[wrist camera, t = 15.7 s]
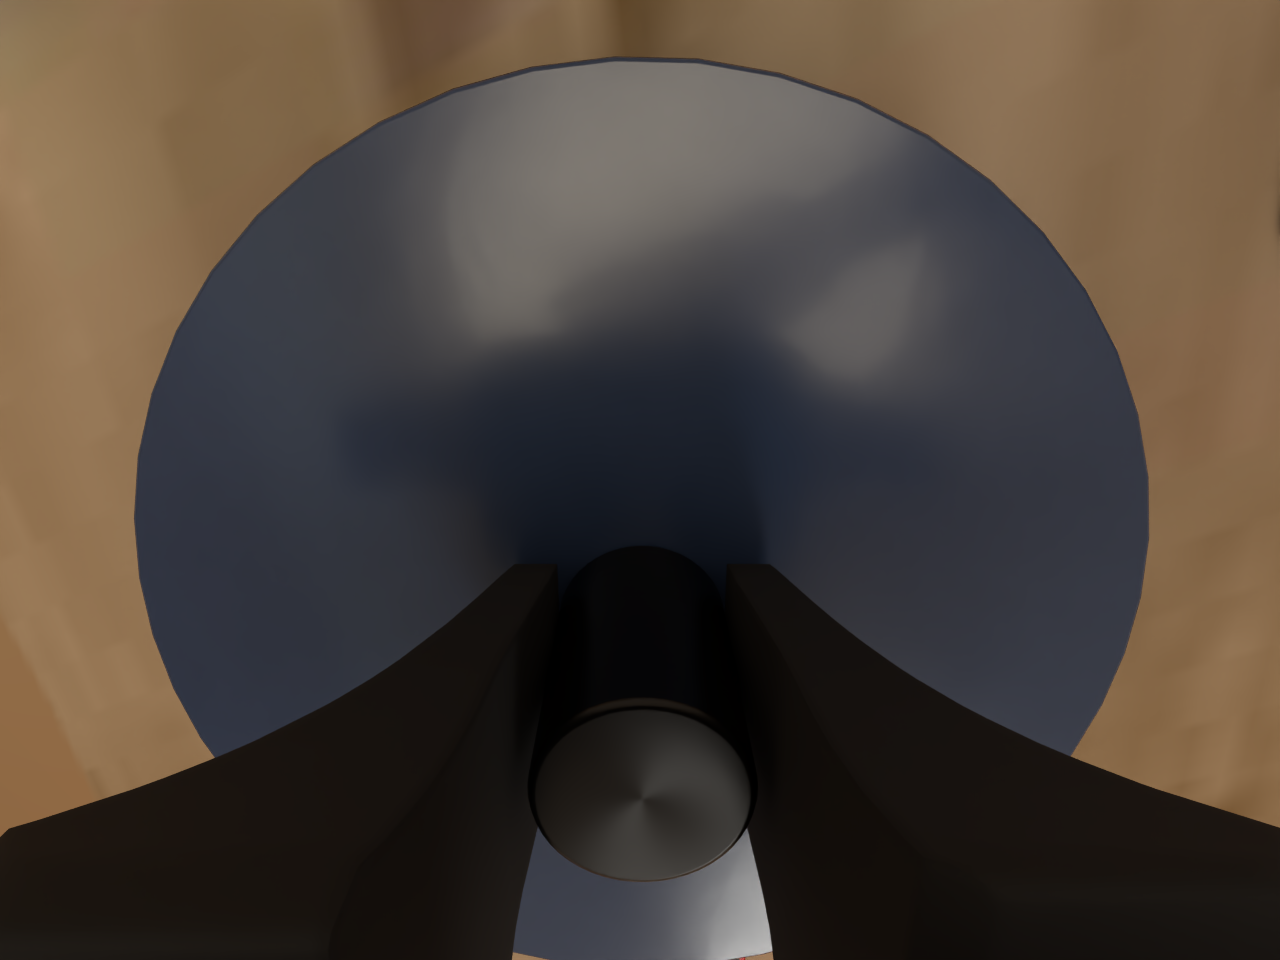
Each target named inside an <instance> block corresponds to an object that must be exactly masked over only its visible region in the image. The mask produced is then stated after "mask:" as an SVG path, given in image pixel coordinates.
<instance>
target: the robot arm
mask: <svg viewBox="0 0 1280 960" xmlns="http://www.w3.org/2000/svg"><path fill="white" fill-rule="evenodd" d="M558 618H559V594H558V570H557V564H514V565H513V566H512V567H510V568H509V569H508V570H507V571H506V572H505V573H503V574H502V575H501V576H500V577H499V578H498V579H497V580H496V581H495V582H493V583H492V584H491V585H490V586H489V587H488V588H487V589H486V590H485V591H484V592H482V593H481V594H480V595H479V596H478V597H477V598H476V599H475V600H473V601H472V602H471V603H470V604H469V605H468V606H466V607H465V608H464V609H463V610H462V611H461V612H459V613H458V614H457V615H456V616H455V617H454V618H453V619H451V620H450V621H449V622H448V623H447V624H445V625H444V626H443V627H441V628H440V629H439V630H437V631H436V632H435V633H434V634H432V635H431V636H430V637H428V638H427V639H426V640H424V641H423V642H422V643H420V644H419V645H418V646H416V647H415V648H414V649H412V650H411V651H410V652H408V653H407V654H406V655H405V656H403V657H402V658H401V659H399V660H398V661H396V662H395V663H393V664H392V665H391V666H389V667H388V668H386V669H385V670H383V671H382V672H380V673H378V674H377V675H375V676H374V677H372V678H371V679H369V680H368V681H366V682H364V683H363V684H361V685H359V686H358V687H356V688H354V689H353V690H351V691H349V692H348V693H346V694H344V695H343V696H341V697H339V698H338V699H336V700H334V701H332V702H330V703H329V704H327V705H325V706H323V707H321V708H319V709H317V710H315V711H313V712H311V713H309V714H307V715H305V716H303V717H301V718H299V719H297V720H295V721H293V722H291V723H289V724H287V725H285V726H283V727H281V728H279V729H277V730H275V731H273V732H271V733H269V734H267V735H265V736H263V737H261V738H259V739H257V740H255V741H253V742H251V743H249V744H246V745H244V746H242V747H239V748H237V749H235V750H232V751H230V752H228V753H225V754H223V755H221V756H218V757H216V758H214V759H211V760H209V761H206V762H204V763H201V764H199V765H196V766H194V767H191V768H189V769H186V770H183V771H181V772H178V773H176V774H173V775H171V776H168V777H166V778H163V779H160V780H157V781H155V782H152V783H149V784H146V785H144V786H141V787H138V788H135V789H133V790H129V791H126V792H123V793H120V794H117V795H114V796H111V797H108V798H105V799H102V800H99V801H96V802H93V803H89V804H87V805H83V806H80V807H77V808H74V809H71V810H68V811H65V812H62V813H59V814H56V815H52V816H49V817H46V818H43V819H40V820H37V821H33V822H30V823H27V824H23V825H20V826H16V827H13V828H10V829H8V830H7V831H6V832H5V833H4V834H3V835H2V836H1V837H0V960H512V954H513V946H514V939H515V931H516V925H517V919H518V914H519V909H520V903H521V898H522V893H523V888H524V884H525V880H526V875H527V871H528V867H529V863H530V858H531V854H532V850H533V845H534V841H535V837H536V833H537V828H538V826H537V824H536V822H535V819H534V817H533V814H532V811H531V809H530V804H529V800H528V788H527V783H528V775H529V769H530V764H531V759H532V753H533V748H534V743H535V738H536V732H537V727H538V722H539V717H540V712H541V706H542V701H543V696H544V691H545V685H546V680H547V675H548V670H549V665H550V659H551V654H552V649H553V644H554V638H555V633H556V628H557V623H558ZM725 618H726V623H727V628H728V633H729V638H730V643H731V648H732V653H733V658H734V663H735V668H736V673H737V678H738V683H739V688H740V693H741V698H742V703H743V708H744V713H745V718H746V723H747V727H748V732H749V737H750V742H751V747H752V752H753V757H754V762H755V767H756V772H757V779H758V795H757V802H756V806H755V809H754V813H753V815H752V818H751V820H750V822H749V825H748V827H747V830H748V834H749V838H750V842H751V847H752V851H753V855H754V859H755V863H756V868H757V872H758V876H759V880H760V884H761V888H762V893H763V898H764V903H765V908H766V914H767V919H768V924H769V930H770V937H771V944H772V951H773V959H774V960H1280V828H1279V827H1275V826H1272V825H1269V824H1266V823H1263V822H1260V821H1256V820H1253V819H1250V818H1247V817H1244V816H1240V815H1237V814H1234V813H1231V812H1228V811H1224V810H1221V809H1218V808H1215V807H1212V806H1208V805H1205V804H1202V803H1199V802H1196V801H1193V800H1189V799H1186V798H1183V797H1180V796H1177V795H1173V794H1170V793H1167V792H1164V791H1161V790H1157V789H1155V788H1152V787H1149V786H1146V785H1143V784H1140V783H1138V782H1135V781H1132V780H1130V779H1127V778H1125V777H1122V776H1119V775H1117V774H1114V773H1112V772H1109V771H1106V770H1104V769H1101V768H1098V767H1096V766H1093V765H1091V764H1088V763H1085V762H1083V761H1080V760H1078V759H1075V758H1073V757H1071V756H1068V755H1066V754H1063V753H1061V752H1059V751H1056V750H1054V749H1052V748H1049V747H1047V746H1045V745H1042V744H1040V743H1038V742H1036V741H1033V740H1031V739H1029V738H1027V737H1025V736H1023V735H1021V734H1019V733H1017V732H1015V731H1012V730H1010V729H1008V728H1006V727H1004V726H1002V725H1000V724H998V723H996V722H994V721H992V720H989V719H987V718H985V717H983V716H981V715H980V714H978V713H976V712H974V711H972V710H970V709H968V708H966V707H964V706H962V705H961V704H959V703H957V702H955V701H954V700H952V699H950V698H948V697H947V696H945V695H943V694H942V693H940V692H938V691H937V690H935V689H933V688H931V687H930V686H928V685H926V684H925V683H923V682H921V681H920V680H918V679H916V678H915V677H913V676H911V675H910V674H908V673H907V672H905V671H904V670H902V669H901V668H899V667H898V666H896V665H895V664H893V663H892V662H890V661H889V660H888V659H886V658H885V657H883V656H882V655H881V654H879V653H878V652H876V651H875V650H874V649H872V648H871V647H869V646H868V645H866V644H865V643H864V642H862V641H861V640H860V639H858V638H857V637H856V636H855V635H853V634H852V633H851V632H849V631H848V630H847V629H846V628H844V627H843V626H842V625H841V624H839V623H838V622H837V621H836V620H834V619H833V618H832V617H831V616H830V615H828V614H827V613H826V612H825V611H824V610H822V609H821V608H820V607H819V606H818V605H817V604H815V603H814V602H813V601H812V600H811V599H810V598H808V597H807V596H806V595H805V594H804V593H803V592H802V591H801V590H799V589H798V588H797V587H796V586H795V585H794V584H793V583H792V582H790V581H789V580H788V579H787V578H786V577H785V576H784V575H783V574H781V573H780V572H779V571H778V570H777V569H776V568H774V567H773V566H772V565H771V564H727V571H726V594H725Z"/></svg>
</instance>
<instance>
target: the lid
mask: <svg viewBox="0 0 1280 960" xmlns="http://www.w3.org/2000/svg"><path fill="white" fill-rule="evenodd" d="M134 523H135V535H136V546H137V557H138V569H139V579H140V583H141V587H142V592H143V596H144V600H145V604H146V609H147V613H148V617H149V621H150V626H151V630H152V634H153V637H154V640H155V642H156V645H157V647H158V650H159V652H160V655H161V658H162V660H163V663H164V665H165V668H166V671H167V673H168V676H169V678H170V681H171V683H172V686H173V689H174V690H175V692H176V694H177V696H178V698H179V699H180V701H181V703H182V705H183V707H184V709H185V710H186V712H187V714H188V716H189V718H190V720H191V721H192V723H193V725H194V727H195V729H196V730H197V732H198V734H199V736H200V738H201V739H202V741H203V742H204V743H205V745H206V746H207V747H208V749H209V750H210V752H211V753H212V754H213V756H214V757H215V758H216V757H218V756H221V755H223V754H225V753H228V752H230V751H232V750H235V749H237V748H239V747H242V746H244V745H246V744H249V743H251V742H253V741H255V740H257V739H259V738H261V737H263V736H265V735H267V734H269V733H271V732H273V731H275V730H277V729H279V728H281V727H283V726H285V725H287V724H289V723H291V722H293V721H295V720H297V719H299V718H301V717H303V716H305V715H307V714H309V713H311V712H313V711H315V710H317V709H319V708H321V707H323V706H325V705H327V704H329V703H330V702H332V701H334V700H336V699H338V698H339V697H341V696H343V695H344V694H346V693H348V692H349V691H351V690H353V689H354V688H356V687H358V686H359V685H361V684H363V683H364V682H366V681H368V680H369V679H371V678H372V677H374V676H375V675H377V674H378V673H380V672H382V671H383V670H385V669H386V668H388V667H389V666H391V665H392V664H393V663H395V662H396V661H398V660H399V659H401V658H402V657H403V656H405V655H406V654H407V653H408V652H410V651H411V650H412V649H414V648H415V647H416V646H418V645H419V644H420V643H422V642H423V641H424V640H426V639H427V638H428V637H430V636H431V635H432V634H434V633H435V632H436V631H437V630H439V629H440V628H441V627H443V626H444V625H445V624H447V623H448V622H449V621H450V620H451V619H453V618H454V617H455V616H456V615H457V614H458V613H459V612H461V611H462V610H463V609H464V608H465V607H466V606H468V605H469V604H470V603H471V602H472V601H473V600H475V599H476V598H477V597H478V596H479V595H480V594H481V593H482V592H484V591H485V590H486V589H487V588H488V587H489V586H490V585H491V584H492V583H493V582H495V581H496V580H497V579H498V578H499V577H500V576H501V575H502V574H503V573H505V572H506V571H507V570H508V569H509V568H510V567H512V566H513V565H514V564H557V570H558V594H559V618H558V623H557V628H556V633H555V638H554V644H553V649H552V654H551V659H550V665H549V670H548V675H547V680H546V685H545V691H544V696H543V701H542V706H541V712H540V717H539V722H538V727H537V732H536V738H535V743H534V748H533V753H532V759H531V764H530V769H529V775H528V783H527V788H528V800H529V804H530V809H531V811H532V814H533V817H534V819H535V822H536V824H537V826H538V828H537V833H536V837H535V841H534V845H533V850H532V854H531V858H530V863H529V867H528V871H527V875H526V880H525V884H524V888H523V893H522V898H521V903H520V909H519V914H518V919H517V925H516V931H515V939H514V946H513V952H514V953H519V954H524V955H529V956H534V957H539V958H543V959H548V960H733V959H738V958H744V957H750V956H756V955H761V954H766V953H770V952H773V951H772V944H771V937H770V930H769V924H768V919H767V914H766V908H765V903H764V898H763V893H762V888H761V884H760V880H759V876H758V872H757V868H756V863H755V859H754V855H753V851H752V847H751V842H750V838H749V834H748V830H747V827H748V825H749V822H750V820H751V818H752V815H753V813H754V809H755V806H756V802H757V795H758V779H757V772H756V767H755V762H754V757H753V752H752V747H751V742H750V737H749V732H748V727H747V723H746V718H745V713H744V708H743V703H742V698H741V693H740V688H739V683H738V678H737V673H736V668H735V663H734V658H733V653H732V648H731V643H730V638H729V633H728V628H727V623H726V618H725V594H726V571H727V564H771V565H772V566H773V567H774V568H776V569H777V570H778V571H779V572H780V573H781V574H783V575H784V576H785V577H786V578H787V579H788V580H789V581H790V582H792V583H793V584H794V585H795V586H796V587H797V588H798V589H799V590H801V591H802V592H803V593H804V594H805V595H806V596H807V597H808V598H810V599H811V600H812V601H813V602H814V603H815V604H817V605H818V606H819V607H820V608H821V609H822V610H824V611H825V612H826V613H827V614H828V615H830V616H831V617H832V618H833V619H834V620H836V621H837V622H838V623H839V624H841V625H842V626H843V627H844V628H846V629H847V630H848V631H849V632H851V633H852V634H853V635H855V636H856V637H857V638H858V639H860V640H861V641H862V642H864V643H865V644H866V645H868V646H869V647H871V648H872V649H874V650H875V651H876V652H878V653H879V654H881V655H882V656H883V657H885V658H886V659H888V660H889V661H890V662H892V663H893V664H895V665H896V666H898V667H899V668H901V669H902V670H904V671H905V672H907V673H908V674H910V675H911V676H913V677H915V678H916V679H918V680H920V681H921V682H923V683H925V684H926V685H928V686H930V687H931V688H933V689H935V690H937V691H938V692H940V693H942V694H943V695H945V696H947V697H948V698H950V699H952V700H954V701H955V702H957V703H959V704H961V705H962V706H964V707H966V708H968V709H970V710H972V711H974V712H976V713H978V714H980V715H981V716H983V717H985V718H987V719H989V720H992V721H994V722H996V723H998V724H1000V725H1002V726H1004V727H1006V728H1008V729H1010V730H1012V731H1015V732H1017V733H1019V734H1021V735H1023V736H1025V737H1027V738H1029V739H1031V740H1033V741H1036V742H1038V743H1040V744H1042V745H1045V746H1047V747H1049V748H1052V749H1054V750H1056V751H1059V752H1061V753H1063V754H1066V755H1068V756H1071V755H1072V753H1073V752H1074V750H1075V748H1076V747H1077V745H1078V744H1079V742H1080V740H1081V739H1082V737H1083V735H1084V734H1085V732H1086V730H1087V729H1088V727H1089V725H1090V724H1091V722H1092V720H1093V719H1094V717H1095V716H1096V714H1097V712H1098V711H1099V709H1100V707H1101V706H1102V704H1103V701H1104V699H1105V697H1106V695H1107V692H1108V690H1109V688H1110V685H1111V683H1112V681H1113V679H1114V676H1115V674H1116V672H1117V670H1118V667H1119V665H1120V663H1121V661H1122V658H1123V656H1124V654H1125V651H1126V647H1127V644H1128V640H1129V637H1130V633H1131V630H1132V626H1133V623H1134V619H1135V616H1136V612H1137V609H1138V605H1139V602H1140V598H1141V593H1142V585H1143V578H1144V571H1145V564H1146V556H1147V549H1148V542H1149V489H1148V472H1147V465H1146V459H1145V453H1144V447H1143V441H1142V435H1141V429H1140V423H1139V417H1138V413H1137V410H1136V406H1135V403H1134V400H1133V397H1132V394H1131V391H1130V388H1129V385H1128V382H1127V379H1126V376H1125V373H1124V370H1123V367H1122V364H1121V361H1120V358H1119V355H1118V352H1117V350H1116V348H1115V346H1114V344H1113V342H1112V340H1111V338H1110V336H1109V334H1108V332H1107V330H1106V328H1105V326H1104V325H1103V323H1102V321H1101V319H1100V317H1099V315H1098V313H1097V311H1096V309H1095V307H1094V305H1093V303H1092V301H1091V299H1090V297H1089V295H1088V293H1087V292H1086V290H1085V288H1084V287H1083V286H1082V284H1081V283H1080V281H1079V280H1078V279H1077V277H1076V276H1075V275H1074V273H1073V272H1072V271H1071V269H1070V268H1069V266H1068V265H1067V264H1066V262H1065V261H1064V260H1063V258H1062V257H1061V256H1060V254H1059V253H1058V252H1057V250H1056V249H1055V247H1054V246H1053V245H1052V243H1051V242H1050V241H1049V239H1048V238H1047V237H1046V235H1045V234H1044V232H1043V231H1042V230H1041V229H1040V228H1039V227H1038V226H1037V225H1036V224H1035V223H1033V222H1032V221H1031V220H1030V219H1029V218H1028V217H1027V216H1026V215H1025V214H1024V213H1023V212H1022V211H1021V210H1020V209H1019V208H1018V207H1017V206H1016V205H1015V204H1014V203H1013V202H1012V201H1011V200H1010V199H1009V198H1008V197H1007V196H1006V195H1005V194H1004V193H1003V192H1002V191H1001V190H1000V189H999V188H998V187H997V186H996V185H995V184H994V183H993V182H992V181H991V180H990V179H988V178H987V177H986V176H984V175H983V174H982V173H980V172H979V171H977V170H976V169H975V168H973V167H972V166H971V165H969V164H968V163H966V162H965V161H964V160H962V159H961V158H959V157H958V156H957V155H955V154H954V153H953V152H951V151H950V150H948V149H947V148H946V147H944V146H943V145H941V144H940V143H939V142H937V141H936V140H935V139H933V138H932V137H930V136H929V135H927V134H925V133H923V132H921V131H920V130H918V129H916V128H914V127H912V126H910V125H908V124H906V123H904V122H902V121H900V120H898V119H896V118H894V117H892V116H890V115H888V114H886V113H884V112H882V111H880V110H878V109H877V108H875V107H873V106H871V105H869V104H867V103H865V102H863V101H861V100H859V99H857V98H854V97H851V96H848V95H845V94H842V93H839V92H836V91H833V90H830V89H827V88H824V87H821V86H818V85H815V84H812V83H809V82H806V81H803V80H800V79H797V78H794V77H791V76H788V75H785V74H782V73H778V72H772V71H766V70H761V69H755V68H749V67H744V66H738V65H732V64H726V63H721V62H715V61H709V60H703V59H696V58H655V57H606V58H598V59H590V60H582V61H574V62H566V63H558V64H550V65H542V66H534V67H529V68H526V69H522V70H518V71H515V72H511V73H508V74H504V75H500V76H497V77H493V78H490V79H486V80H483V81H479V82H475V83H472V84H468V85H465V86H461V87H457V88H454V89H451V90H449V91H447V92H444V93H442V94H440V95H438V96H436V97H433V98H431V99H429V100H427V101H424V102H422V103H420V104H418V105H416V106H413V107H411V108H409V109H407V110H404V111H402V112H400V113H398V114H396V115H393V116H391V117H389V118H387V119H384V120H382V121H380V122H378V123H377V124H375V125H373V126H372V127H370V128H369V129H367V130H366V131H364V132H363V133H361V134H360V135H358V136H356V137H355V138H353V139H352V140H350V141H349V142H347V143H346V144H344V145H343V146H341V147H339V148H338V149H336V150H335V151H333V152H332V153H330V154H329V155H327V156H326V157H324V158H322V159H321V160H319V161H318V162H316V163H315V164H313V165H312V166H311V167H310V168H309V169H308V170H307V171H305V172H304V173H303V174H302V175H301V176H300V177H299V178H298V179H296V180H295V181H294V182H293V183H292V184H291V185H290V186H289V187H288V188H286V189H285V190H284V191H283V192H282V193H281V194H280V195H279V196H277V197H276V198H275V199H274V200H273V201H272V202H271V203H270V204H268V205H267V206H266V207H265V208H264V209H263V210H262V211H261V212H260V213H258V214H257V215H256V217H255V218H254V219H253V220H252V222H251V223H250V224H249V225H248V226H247V228H246V229H245V230H244V231H243V233H242V234H241V235H240V236H239V237H238V239H237V240H236V241H235V242H234V244H233V245H232V246H231V247H230V248H229V250H228V251H227V252H226V253H225V255H224V256H223V257H222V258H221V259H220V261H219V262H218V263H217V264H216V266H215V267H214V268H213V269H212V270H211V272H210V274H209V276H208V277H207V279H206V281H205V282H204V284H203V286H202V287H201V289H200V291H199V293H198V294H197V296H196V298H195V299H194V301H193V303H192V305H191V306H190V308H189V310H188V311H187V313H186V315H185V317H184V318H183V320H182V322H181V323H180V325H179V327H178V329H177V330H176V333H175V335H174V338H173V340H172V343H171V345H170V348H169V351H168V353H167V356H166V358H165V361H164V363H163V366H162V369H161V371H160V374H159V376H158V379H157V381H156V384H155V386H154V389H153V392H152V394H151V399H150V404H149V408H148V413H147V417H146V422H145V426H144V431H143V436H142V440H141V445H140V449H139V454H138V463H137V479H136V495H135V511H134Z"/></svg>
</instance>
